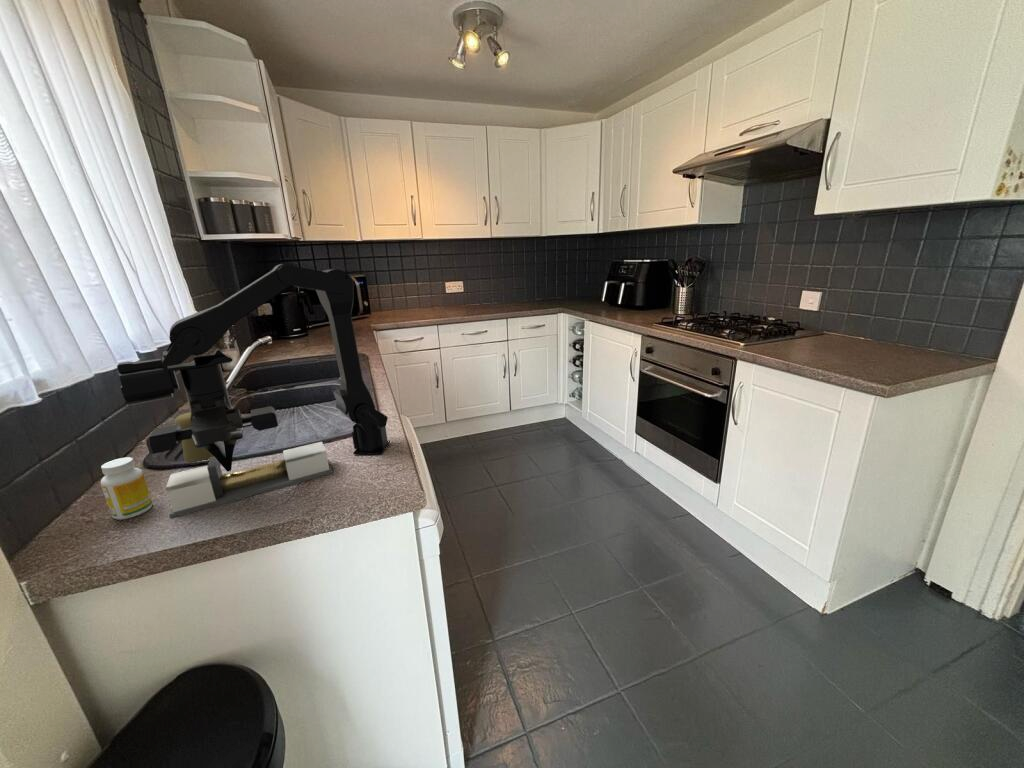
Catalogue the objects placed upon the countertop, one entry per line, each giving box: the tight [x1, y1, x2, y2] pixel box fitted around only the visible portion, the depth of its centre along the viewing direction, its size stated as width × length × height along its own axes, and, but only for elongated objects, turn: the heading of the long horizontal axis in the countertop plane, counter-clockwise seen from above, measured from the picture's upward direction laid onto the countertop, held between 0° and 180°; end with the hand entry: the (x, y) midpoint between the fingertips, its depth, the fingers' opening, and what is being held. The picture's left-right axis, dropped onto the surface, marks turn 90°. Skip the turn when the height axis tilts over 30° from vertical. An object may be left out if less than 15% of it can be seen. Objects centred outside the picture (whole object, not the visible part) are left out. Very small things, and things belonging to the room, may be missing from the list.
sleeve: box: [282, 441, 329, 480], centre depth 82 cm, size 7×5×4 cm
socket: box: [165, 464, 216, 512], centre depth 72 cm, size 6×6×5 cm
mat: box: [168, 461, 333, 519], centre depth 78 cm, size 26×7×1 cm, turn 122°
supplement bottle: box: [100, 456, 153, 520], centre depth 70 cm, size 5×5×10 cm
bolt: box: [207, 457, 288, 498], centre depth 76 cm, size 17×5×6 cm, turn 122°
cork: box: [174, 411, 214, 463], centre depth 89 cm, size 6×6×11 cm
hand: (229, 470), depth 75 cm, fingers closed
